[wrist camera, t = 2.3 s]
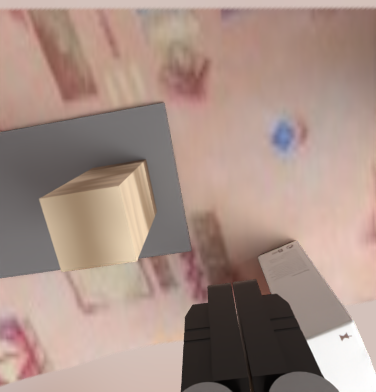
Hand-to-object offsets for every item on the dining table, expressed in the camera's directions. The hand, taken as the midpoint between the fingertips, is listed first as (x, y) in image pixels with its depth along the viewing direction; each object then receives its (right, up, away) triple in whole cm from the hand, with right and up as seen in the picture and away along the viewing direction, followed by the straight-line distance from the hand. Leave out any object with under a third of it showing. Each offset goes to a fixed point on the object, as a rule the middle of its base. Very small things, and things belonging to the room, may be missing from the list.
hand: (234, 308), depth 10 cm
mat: (-12, +3, +20) cm, 24 cm away
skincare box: (+8, -4, +22) cm, 24 cm away
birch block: (-7, +4, +19) cm, 21 cm away
